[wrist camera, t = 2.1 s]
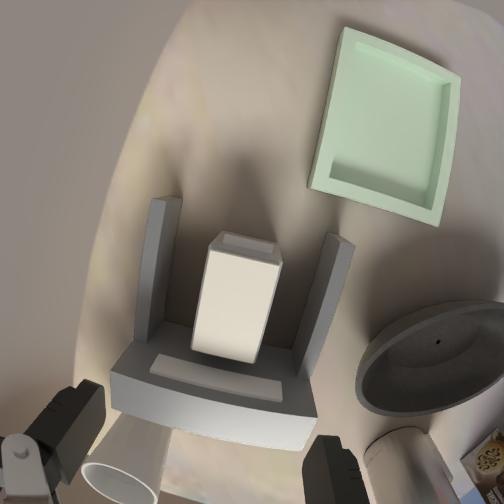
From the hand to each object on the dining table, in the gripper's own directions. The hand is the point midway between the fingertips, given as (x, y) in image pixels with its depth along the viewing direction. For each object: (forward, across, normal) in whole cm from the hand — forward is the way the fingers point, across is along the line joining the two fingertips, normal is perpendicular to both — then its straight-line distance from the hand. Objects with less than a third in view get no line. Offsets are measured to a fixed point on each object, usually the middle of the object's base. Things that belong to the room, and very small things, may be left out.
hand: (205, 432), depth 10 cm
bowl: (+19, -22, +2) cm, 29 cm away
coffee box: (+19, -49, +23) cm, 57 cm away
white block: (+19, 0, 0) cm, 19 cm away
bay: (+19, 0, +1) cm, 19 cm away
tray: (+19, -10, -17) cm, 27 cm away
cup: (+19, +7, +20) cm, 29 cm away
